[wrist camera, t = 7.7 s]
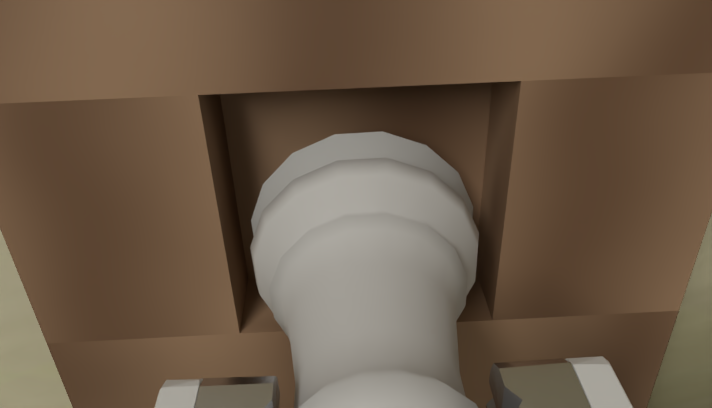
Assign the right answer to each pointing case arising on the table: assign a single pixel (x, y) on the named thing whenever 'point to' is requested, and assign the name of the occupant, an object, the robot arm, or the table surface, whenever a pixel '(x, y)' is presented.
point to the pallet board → (342, 116)
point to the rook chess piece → (368, 271)
